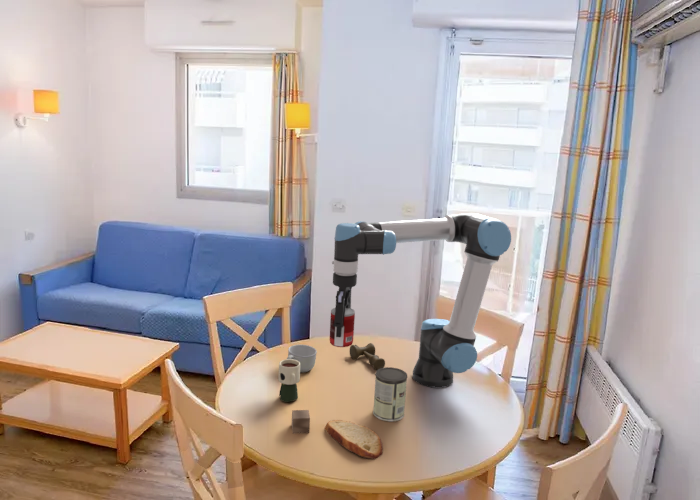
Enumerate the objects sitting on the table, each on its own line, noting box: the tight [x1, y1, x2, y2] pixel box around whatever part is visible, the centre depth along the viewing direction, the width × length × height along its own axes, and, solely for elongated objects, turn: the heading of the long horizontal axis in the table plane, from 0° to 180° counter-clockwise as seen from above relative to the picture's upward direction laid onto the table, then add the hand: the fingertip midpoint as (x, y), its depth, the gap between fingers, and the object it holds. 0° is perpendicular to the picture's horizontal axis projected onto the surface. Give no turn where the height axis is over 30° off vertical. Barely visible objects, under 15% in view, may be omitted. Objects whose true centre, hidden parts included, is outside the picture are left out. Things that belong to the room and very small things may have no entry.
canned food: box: [329, 307, 356, 348], centre depth 179 cm, size 8×8×11 cm
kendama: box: [349, 342, 386, 371], centre depth 222 cm, size 6×10×20 cm
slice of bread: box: [324, 419, 384, 460], centre depth 165 cm, size 18×18×4 cm
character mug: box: [277, 358, 301, 403], centre depth 186 cm, size 11×7×13 cm, turn 22°
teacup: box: [286, 344, 318, 373], centre depth 210 cm, size 14×11×8 cm
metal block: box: [291, 409, 311, 434], centre depth 169 cm, size 5×5×5 cm
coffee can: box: [372, 366, 408, 422], centre depth 180 cm, size 10×10×14 cm
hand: (341, 340), depth 180 cm, fingers closed on canned food, 8 cm apart
